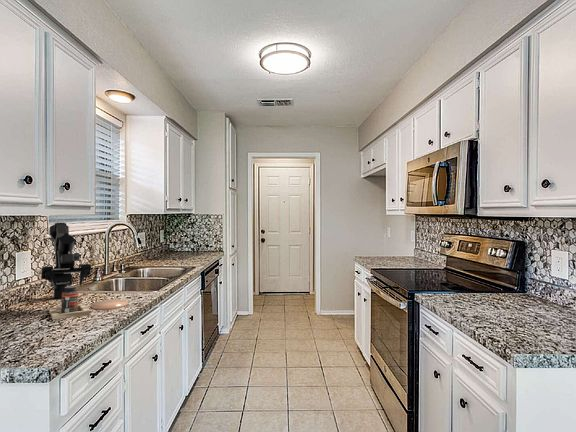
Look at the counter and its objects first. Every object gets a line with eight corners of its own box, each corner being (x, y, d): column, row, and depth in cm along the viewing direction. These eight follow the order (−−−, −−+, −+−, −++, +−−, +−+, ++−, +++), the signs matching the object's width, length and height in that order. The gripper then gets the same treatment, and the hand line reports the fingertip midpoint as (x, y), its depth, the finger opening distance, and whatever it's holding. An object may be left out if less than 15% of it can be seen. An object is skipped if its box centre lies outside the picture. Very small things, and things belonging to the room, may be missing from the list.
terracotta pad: (97, 301, 169) (97, 299, 169) (131, 300, 172) (131, 298, 172) (86, 310, 154) (86, 308, 154) (123, 309, 157) (123, 306, 157)
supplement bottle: (69, 315, 146) (70, 288, 146) (57, 314, 147) (58, 287, 147) (80, 311, 152) (81, 285, 152) (69, 310, 153) (69, 284, 153)
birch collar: (49, 312, 151) (49, 308, 151) (84, 307, 159) (84, 304, 159) (52, 319, 140) (52, 316, 140) (89, 314, 149) (89, 310, 149)
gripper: (41, 248, 151) (43, 277, 142) (91, 246, 163) (95, 273, 154) (40, 264, 157) (41, 293, 148) (87, 261, 169) (91, 288, 160)
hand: (68, 286), depth 153 cm, fingers open, 9 cm apart
